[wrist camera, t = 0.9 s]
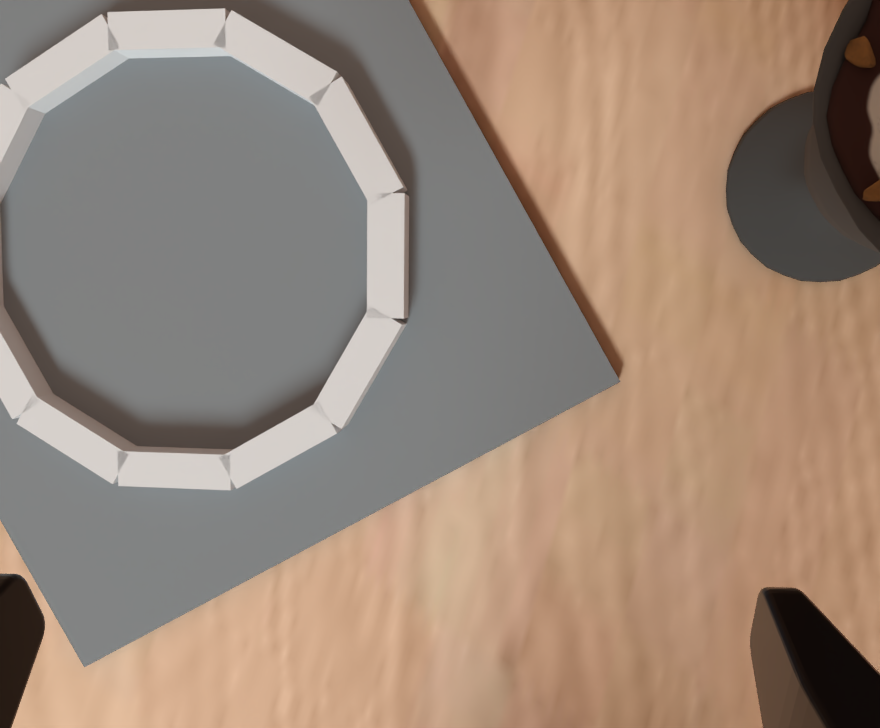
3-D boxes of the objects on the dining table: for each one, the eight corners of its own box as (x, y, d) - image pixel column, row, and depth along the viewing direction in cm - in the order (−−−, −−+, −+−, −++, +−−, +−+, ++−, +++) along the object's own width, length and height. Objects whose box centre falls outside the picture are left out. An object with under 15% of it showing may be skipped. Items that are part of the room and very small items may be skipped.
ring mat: (618, 380, 23) (623, 385, 21) (91, 661, 25) (69, 679, 24) (297, -199, 22) (283, -227, 21) (-203, 145, 25) (-240, 137, 24)
